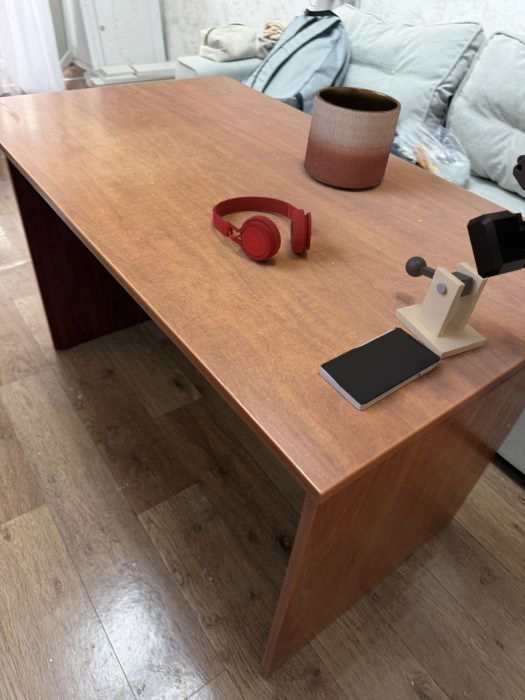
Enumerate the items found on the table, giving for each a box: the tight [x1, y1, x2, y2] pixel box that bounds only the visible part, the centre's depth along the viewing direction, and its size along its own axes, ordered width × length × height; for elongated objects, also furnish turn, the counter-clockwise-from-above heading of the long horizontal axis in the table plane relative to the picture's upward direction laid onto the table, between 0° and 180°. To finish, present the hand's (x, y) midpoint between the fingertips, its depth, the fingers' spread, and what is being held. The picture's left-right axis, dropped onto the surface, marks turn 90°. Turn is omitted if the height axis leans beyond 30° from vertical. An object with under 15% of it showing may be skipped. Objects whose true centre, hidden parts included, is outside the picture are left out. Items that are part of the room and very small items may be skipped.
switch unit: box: [394, 261, 489, 360], centre depth 67 cm, size 10×8×10 cm
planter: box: [303, 85, 402, 190], centre depth 103 cm, size 18×18×16 cm
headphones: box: [212, 195, 312, 261], centre depth 84 cm, size 15×7×20 cm
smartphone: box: [318, 326, 441, 411], centre depth 63 cm, size 8×1×15 cm
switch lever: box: [404, 255, 473, 297], centre depth 68 cm, size 11×3×3 cm, turn 26°
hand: (482, 253), depth 60 cm, fingers closed
